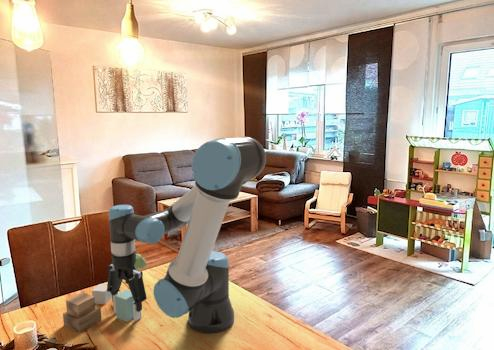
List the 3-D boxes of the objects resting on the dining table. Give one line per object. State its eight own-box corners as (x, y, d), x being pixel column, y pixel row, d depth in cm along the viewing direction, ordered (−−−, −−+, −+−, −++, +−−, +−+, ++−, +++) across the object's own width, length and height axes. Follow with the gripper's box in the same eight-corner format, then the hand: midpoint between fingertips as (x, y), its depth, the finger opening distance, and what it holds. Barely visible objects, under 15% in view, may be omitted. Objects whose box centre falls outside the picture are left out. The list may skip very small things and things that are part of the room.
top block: (95, 309, 116) (94, 296, 115) (78, 318, 111) (77, 305, 110) (83, 304, 119) (82, 292, 118) (67, 313, 114) (65, 300, 113)
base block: (101, 320, 117) (100, 308, 117) (80, 333, 110) (78, 320, 110) (85, 314, 121) (84, 302, 120) (64, 326, 114) (62, 313, 113)
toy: (148, 292, 135) (146, 255, 133) (126, 297, 132) (125, 258, 129) (143, 284, 142) (142, 249, 139) (123, 289, 138) (121, 252, 135)
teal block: (138, 314, 120) (137, 292, 119) (127, 322, 116) (125, 299, 115) (128, 310, 123) (126, 289, 121) (116, 317, 119) (115, 295, 117)
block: (112, 297, 132) (112, 284, 131) (105, 304, 127) (104, 291, 126) (100, 296, 133) (99, 283, 132) (92, 303, 128) (91, 290, 127)
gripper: (156, 254, 114) (159, 318, 118) (110, 242, 124) (114, 302, 128) (139, 262, 107) (142, 330, 111) (92, 249, 117) (96, 312, 121)
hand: (127, 315), depth 119 cm, fingers open, 9 cm apart
